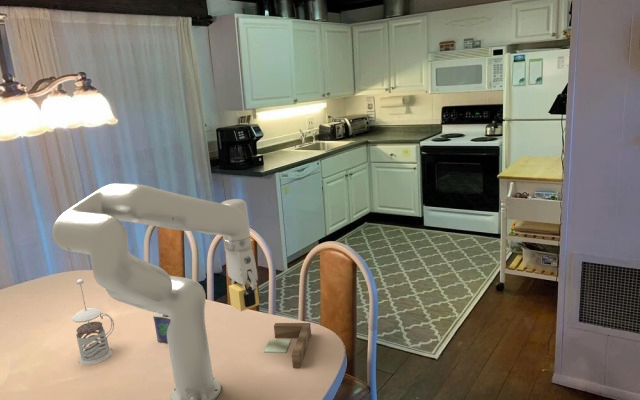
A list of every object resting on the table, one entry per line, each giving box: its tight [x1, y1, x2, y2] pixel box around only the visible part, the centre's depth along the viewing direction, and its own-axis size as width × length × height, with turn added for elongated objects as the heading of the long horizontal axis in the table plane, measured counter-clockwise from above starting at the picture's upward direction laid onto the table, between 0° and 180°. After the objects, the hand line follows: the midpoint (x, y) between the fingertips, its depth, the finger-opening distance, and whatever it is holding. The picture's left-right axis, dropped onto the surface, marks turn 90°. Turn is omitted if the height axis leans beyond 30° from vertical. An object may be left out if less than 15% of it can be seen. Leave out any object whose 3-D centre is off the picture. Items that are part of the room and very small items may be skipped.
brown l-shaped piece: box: [263, 322, 312, 369], centre depth 142 cm, size 18×12×4 cm
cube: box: [228, 280, 260, 312], centre depth 141 cm, size 6×6×6 cm
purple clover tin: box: [152, 313, 171, 345], centre depth 152 cm, size 9×3×11 cm, turn 65°
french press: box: [71, 278, 115, 366], centre depth 146 cm, size 10×12×25 cm
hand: (244, 301), depth 141 cm, fingers closed on cube, 6 cm apart
